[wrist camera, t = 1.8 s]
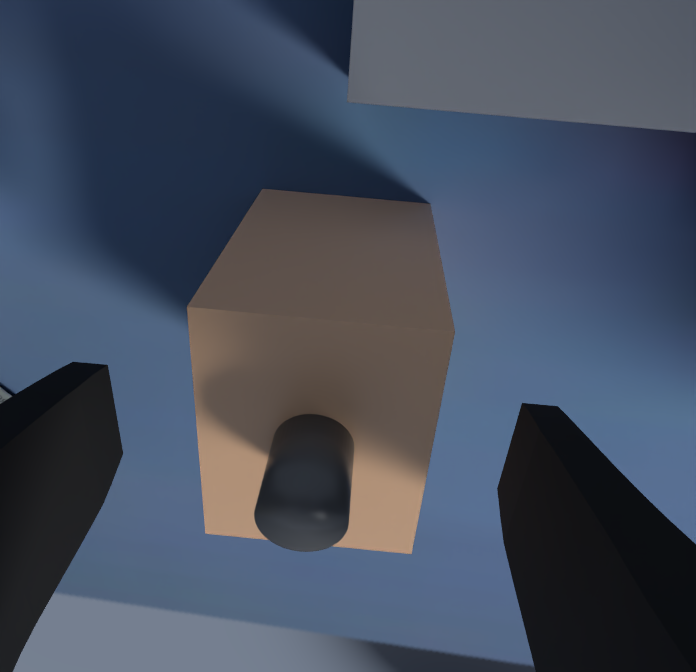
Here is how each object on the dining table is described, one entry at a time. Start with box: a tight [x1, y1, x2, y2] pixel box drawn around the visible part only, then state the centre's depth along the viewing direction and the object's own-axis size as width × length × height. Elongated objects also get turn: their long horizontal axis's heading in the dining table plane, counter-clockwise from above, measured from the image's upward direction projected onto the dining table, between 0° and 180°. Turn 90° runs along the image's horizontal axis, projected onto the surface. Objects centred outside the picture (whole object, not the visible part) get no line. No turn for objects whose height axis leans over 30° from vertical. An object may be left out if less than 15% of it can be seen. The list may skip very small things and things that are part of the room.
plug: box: [187, 189, 455, 554], centre depth 12 cm, size 4×5×8 cm
